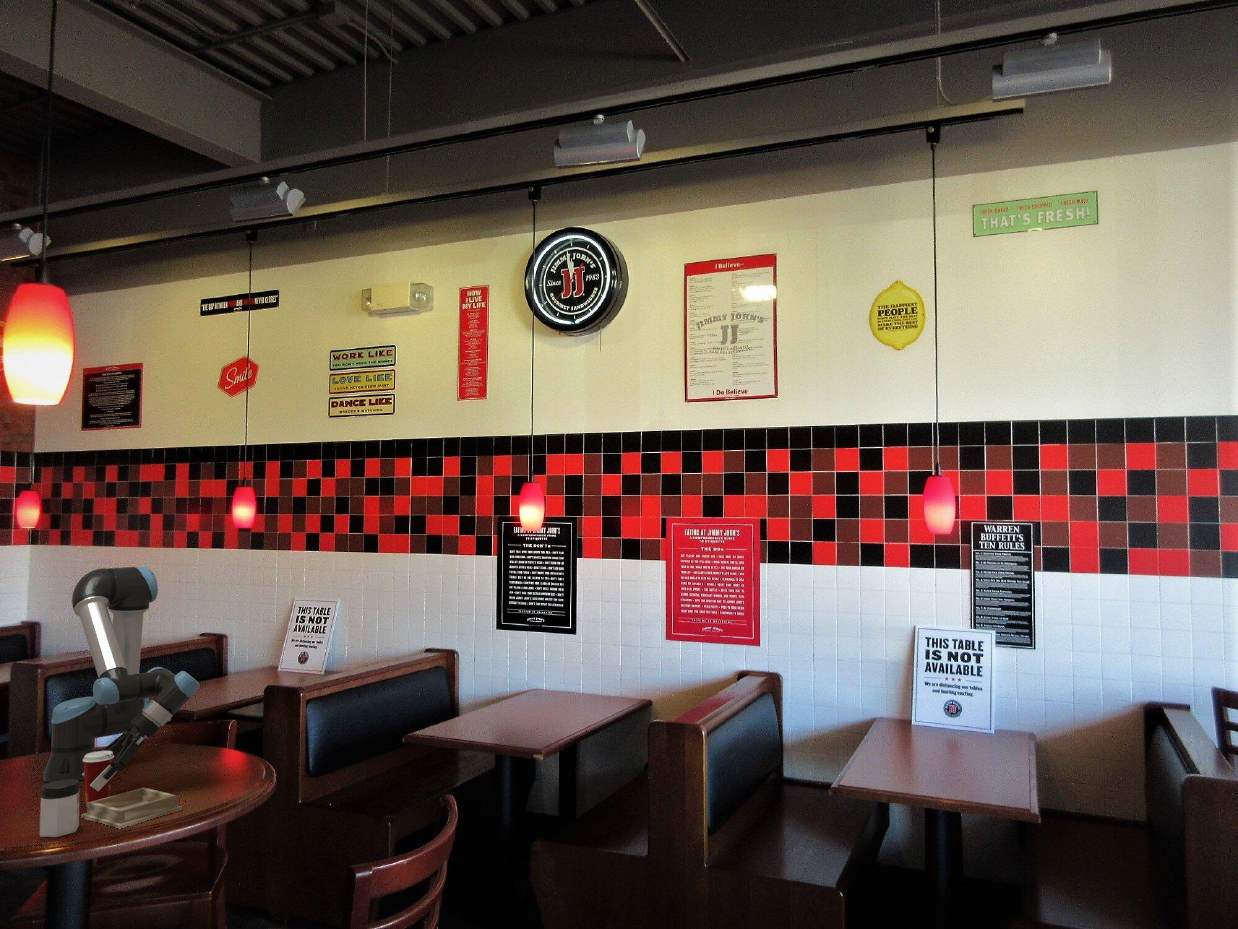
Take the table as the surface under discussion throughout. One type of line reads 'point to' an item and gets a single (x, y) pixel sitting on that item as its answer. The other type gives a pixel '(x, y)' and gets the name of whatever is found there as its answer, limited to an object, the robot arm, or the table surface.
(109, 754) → the paper cup
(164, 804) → the cup tray
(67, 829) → the jar
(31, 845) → the table surface
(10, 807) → the table surface
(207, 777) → the table surface
